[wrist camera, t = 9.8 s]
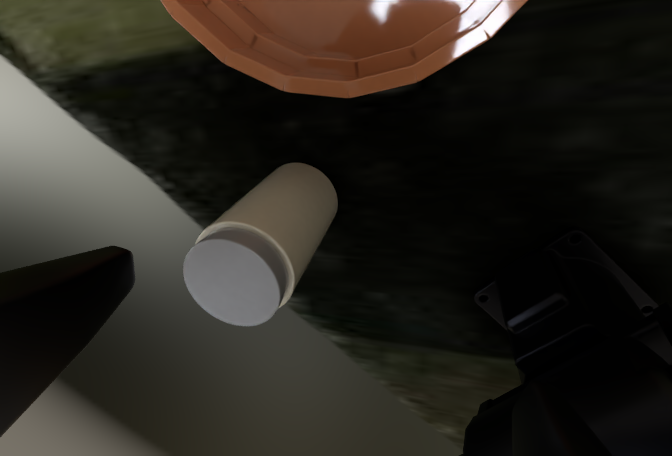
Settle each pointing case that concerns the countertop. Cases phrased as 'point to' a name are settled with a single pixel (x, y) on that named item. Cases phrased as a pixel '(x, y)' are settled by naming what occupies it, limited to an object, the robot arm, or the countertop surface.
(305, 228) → the cylinder
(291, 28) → the bowl
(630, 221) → the countertop surface
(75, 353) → the robot arm
